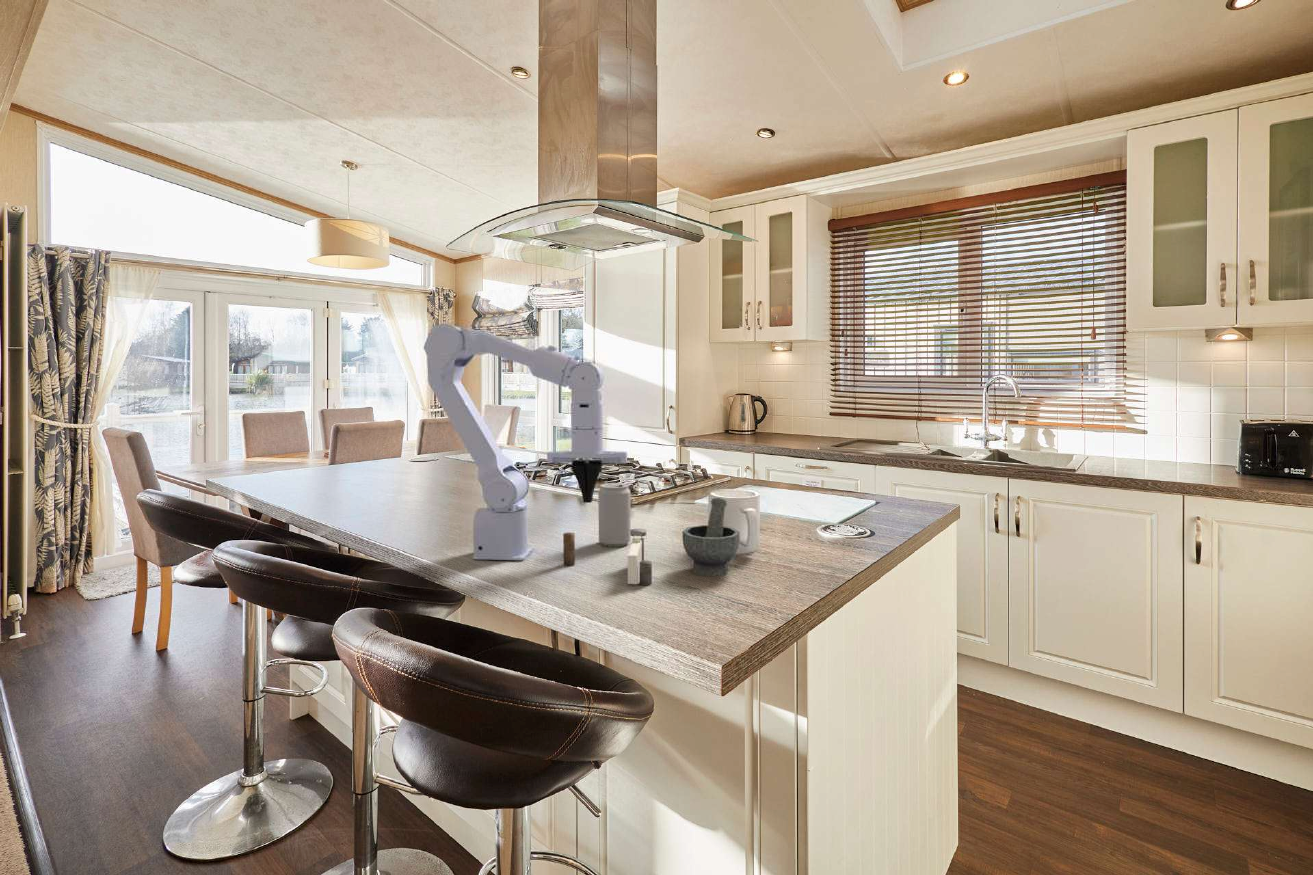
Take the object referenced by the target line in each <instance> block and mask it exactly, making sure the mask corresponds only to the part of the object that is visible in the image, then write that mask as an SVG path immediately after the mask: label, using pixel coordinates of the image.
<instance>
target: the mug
mask: <svg viewBox="0 0 1313 875" xmlns="http://www.w3.org/2000/svg"><path fill="white" fill-rule="evenodd" d="M707 493H708V494H707V497H708V498H707V523H708V522H709V517H710V513H711V508H712V504H711V500H712V499H714V498H721V499H724V500H726V502H727V505H726V507H725V511H724V523H723V526H725V527H730V528H734V529H735V530H737V531H739V532H740V540H739V545H738V549H737V551H736V553H735V554H734V555H740V554H750V553H754V552H757V551H758V550H760V528H761V526H760V524H761V493H759V492H757V491H753V490H748V489H737V488H735V489H734V488H725V489H715V490H711V491H708V492H707Z"/></svg>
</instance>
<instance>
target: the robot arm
mask: <svg viewBox="0 0 1313 875" xmlns="http://www.w3.org/2000/svg"><path fill="white" fill-rule="evenodd" d="M423 349H424V352H425V355H426V364H427V365H426V366H427V382H428V385H429V387H430V389H431V390H432V392H433V395H435V397H436V399H437V400H438V402H439V404H440V406H441V407H442V410H443V411H444V413H445V414H446V416H447V418H448V419H449V421H450V423H451V424H452V425H453V428H454V430H455V431H456V433H457V435H458V436H459V439H460V440H461V442H462V443H463V445H464V447H465V448H466V450H467V452H468V454H469V456H471V459H472V460H473V462H474V463H475V466H476V468H477V480H478V482H479V483H480V486H481V490H482V498H483V500H484V502H485V504H486V507H479V508H477V509H476V510H475V513H474V517H473V523H472V524H473V525H472V528H473V529H472V531H473V532H472V533H473V536H472V537H473V556H472V559H473V560H494V561H495V560H497V561H524V560H525V559H526V558H527V557H528V556H529V554H530V553H531V552H532V551H534V546H529V545H528V514H527V513H528V508H527V506H528V504H527V503H526V501H525V497H526V496H527V495H528V493H529V490H530V481H529V479H528V477H527V475H526V474H525V473H524V472H523V471H522V470H520V469H518V468H517V467H516V465H515V463H514V462H513V461H512V460H511V459H510V458H509V457H508V456H506V455H505V454H504V453H503V451H502V449H501V448H500V446H499V444H498V443H497V441H496V440H495V438H494V436H493V435H492V434H493V433H492V432H491V431H490V429H489V427H488V426H487V424H486V422H485V421H484V419H483V417H482V415H481V413H480V412H479V409H478V408H477V407H476V405H475V404H474V402H473V400H472V398H471V397H470V394H469V393H468V391H467V390H466V388H465V386H464V385H463V383H462V379H463V376H464V373H465V370H466V367H467V366H468V365H469V364H470V363H471V361H472V360H473V359H474V357H475V356H476V355H477V356H483V355H487V354H490V355H493V356H497V357H499V358H502V359H506V360H507V361H508V360H509V361H510V362H511V361H512V362H514V363H518V364H520V365H523V366H526V367H527V368H528V369H529V371H530V373H531V375H532V376H533V377H535V378H538V379H541V380H542V381H543V380H544V381H547V382H549V383H552V384H555V385H558V386H560V387H563V388H567V387H569V389H570V390H571V391H570V392H571V396H570V397H571V403H570V427H571V428H570V429H571V431H570V434H571V436H570V437H571V444H570V445H571V450H562V451H558V450H557V451H548V452H547V453H546V462H547V464H554V463H565V464H566V463H569V464H570V463H571V466H570V468H571V471H572V473H573V475H574V476H575V480H577V483H578V485H579V489H580V492H581V496H582V501H583V503H586V504H587V503H592V502H593V497H594V492H595V487H596V483H597V481H598V478H599V475H600V472H601V470H602V469H603V466H604V464H607V463H610V464H612V463H613V464H615V463H616V464H619V463H620V464H627V463H628V451H613V450H612V451H611V450H604V448H603V447H604V441H603V439H604V438H603V437H604V436H603V435H604V434H603V428H604V427H603V421H604V420H603V403H602V402H603V401H602V398H603V396H602V395H603V394H602V390H601V388H602V386H603V384H604V381H605V380H604V373H603V371H602V369H601V368H600V366H598V365H596V364H594V363H593V362H592V361H585V362H583V361H582V357H581V356H579V355H575V356H572V355H569V354H565V353H563V352H560V351H558V347H556V346H553V345H548V347H547V346H540V347H538V348H536V349H532V348H529V347H526V346H524V345H521V344H519V343H517V342H514V341H511V340H508V339H506V338H503V337H501V336H498V335H496V334H494V333H491V332H488V331H484V330H483V331H482V330H478V329H474V328H467V327H463V326H456V325H453V324H450V323H440V324H436V325H435V326H433V327H432V328H431V329H430V331H429V333H428V334H427V337H426V340H425V342H424V345H423Z"/></svg>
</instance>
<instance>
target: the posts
mask: <svg viewBox="0 0 1313 875" xmlns="http://www.w3.org/2000/svg"><path fill="white" fill-rule="evenodd" d="M562 536H563V538H562V540H563V548H562V549H563V550H562V551H563V553H562V554H563V565H564V566H565V567H567V566H568V567H570V566H571V567H572V566H575V564H576V555H575V554H576V552H575V550H576V548H575V546H576V541H575V540H576V539H575V537H576V535H575V533H574V532H565V533H563V535H562ZM641 540H642V561H640V567H639V579H638V582H639V585H641V586H650V585H652V584H653V582H652V581H653V578H652V577H653V576H652V575H653V574H652V572H653V571H652V570H653V569H652V568H653V567H652V566H653V562H652V561H651V560H645V538H644V537H642V538H641Z"/></svg>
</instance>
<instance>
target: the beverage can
mask: <svg viewBox="0 0 1313 875" xmlns="http://www.w3.org/2000/svg"><path fill="white" fill-rule="evenodd" d="M599 487H600V488H599V490H597V491H598V542H600V543H601V544H602V546H605V547H611V548H614V547H615V548H616V547H617V548H618V547H624V546H627V545H628V543H629V542H630V541H631V537H632V536H631V535H630V530H631V490H630V489H629V484H628V483H622V482H621V483H620V482H607V483H602V484H600V486H599Z"/></svg>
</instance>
